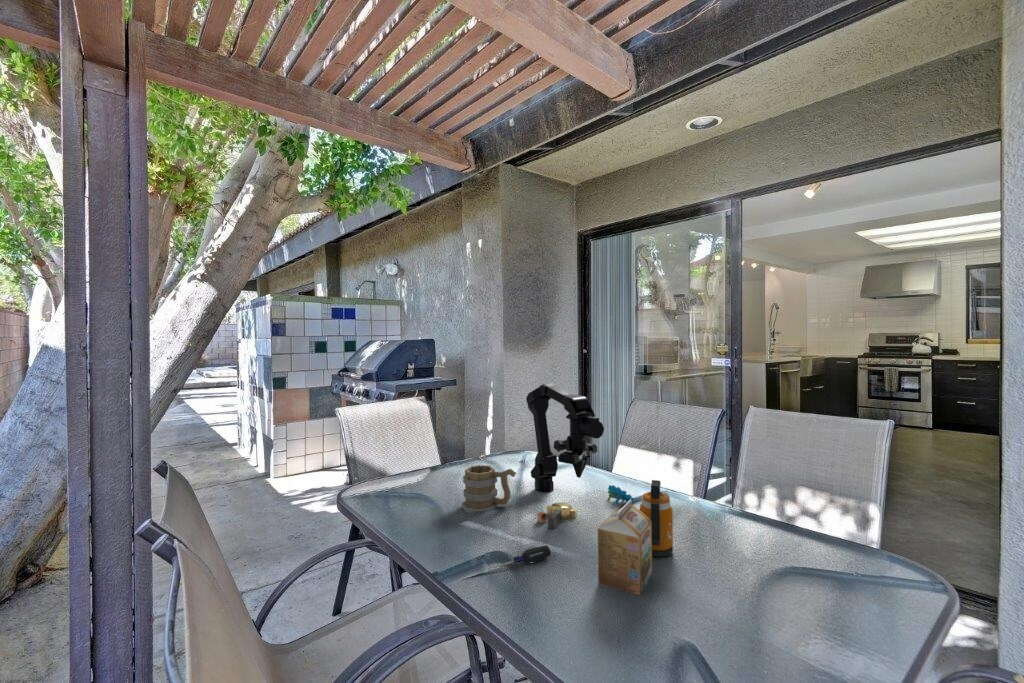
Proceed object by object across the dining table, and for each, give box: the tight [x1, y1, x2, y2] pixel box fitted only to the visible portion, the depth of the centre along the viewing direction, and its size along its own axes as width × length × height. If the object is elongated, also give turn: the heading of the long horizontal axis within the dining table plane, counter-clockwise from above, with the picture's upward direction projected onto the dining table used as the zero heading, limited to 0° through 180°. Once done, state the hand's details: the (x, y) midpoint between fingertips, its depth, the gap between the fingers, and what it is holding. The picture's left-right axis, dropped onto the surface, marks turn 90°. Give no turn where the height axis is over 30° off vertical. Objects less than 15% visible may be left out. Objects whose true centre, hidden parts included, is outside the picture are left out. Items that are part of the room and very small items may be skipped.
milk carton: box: [597, 500, 653, 596], centre depth 120 cm, size 11×11×19 cm
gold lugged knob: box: [546, 502, 578, 530], centre depth 155 cm, size 16×10×3 cm, turn 157°
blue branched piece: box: [606, 484, 635, 504], centre depth 169 cm, size 11×6×10 cm
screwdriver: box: [491, 545, 551, 568], centre depth 127 cm, size 26×4×4 cm, turn 114°
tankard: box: [461, 464, 517, 514], centre depth 168 cm, size 20×13×15 cm, turn 68°
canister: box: [639, 479, 674, 557], centre depth 133 cm, size 9×11×20 cm
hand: (578, 477), depth 164 cm, fingers closed
